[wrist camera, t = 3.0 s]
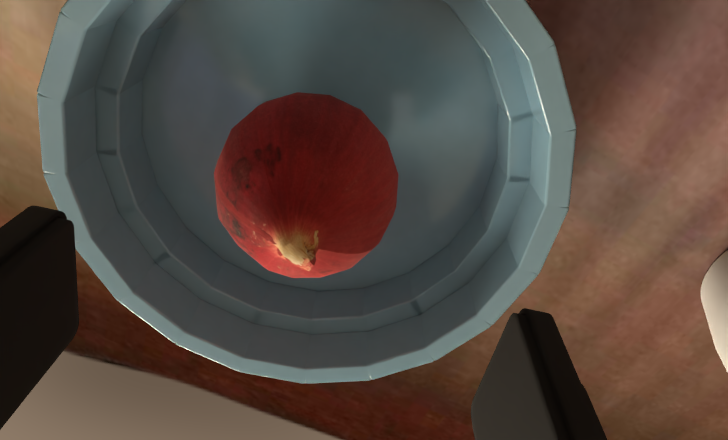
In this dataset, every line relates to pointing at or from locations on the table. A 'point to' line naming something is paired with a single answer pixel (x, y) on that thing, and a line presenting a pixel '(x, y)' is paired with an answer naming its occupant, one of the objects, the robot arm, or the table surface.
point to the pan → (318, 76)
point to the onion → (306, 185)
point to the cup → (717, 304)
